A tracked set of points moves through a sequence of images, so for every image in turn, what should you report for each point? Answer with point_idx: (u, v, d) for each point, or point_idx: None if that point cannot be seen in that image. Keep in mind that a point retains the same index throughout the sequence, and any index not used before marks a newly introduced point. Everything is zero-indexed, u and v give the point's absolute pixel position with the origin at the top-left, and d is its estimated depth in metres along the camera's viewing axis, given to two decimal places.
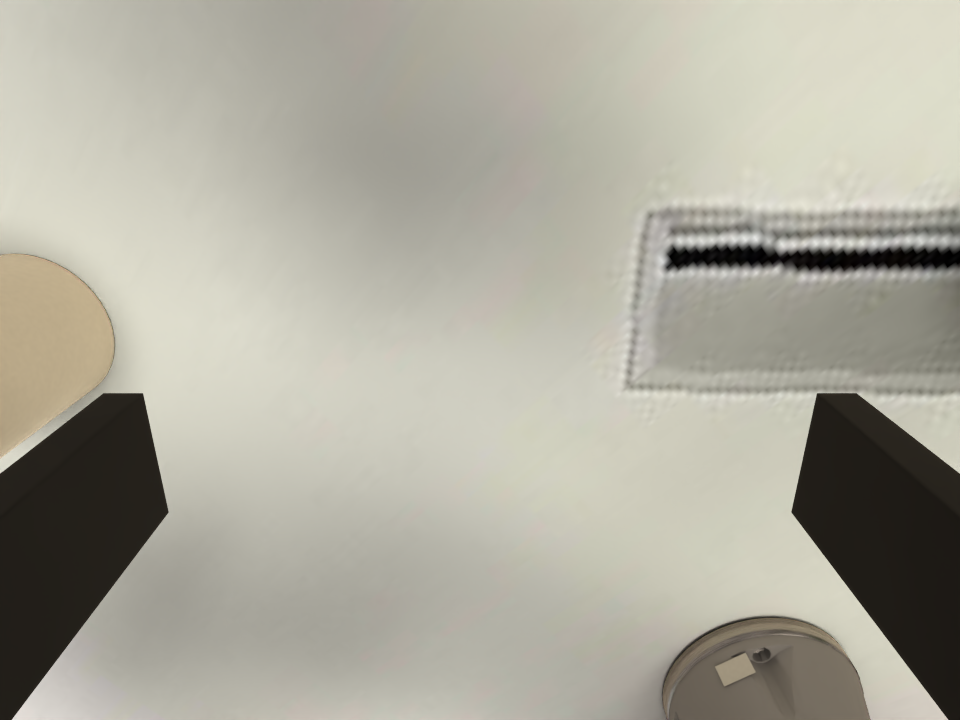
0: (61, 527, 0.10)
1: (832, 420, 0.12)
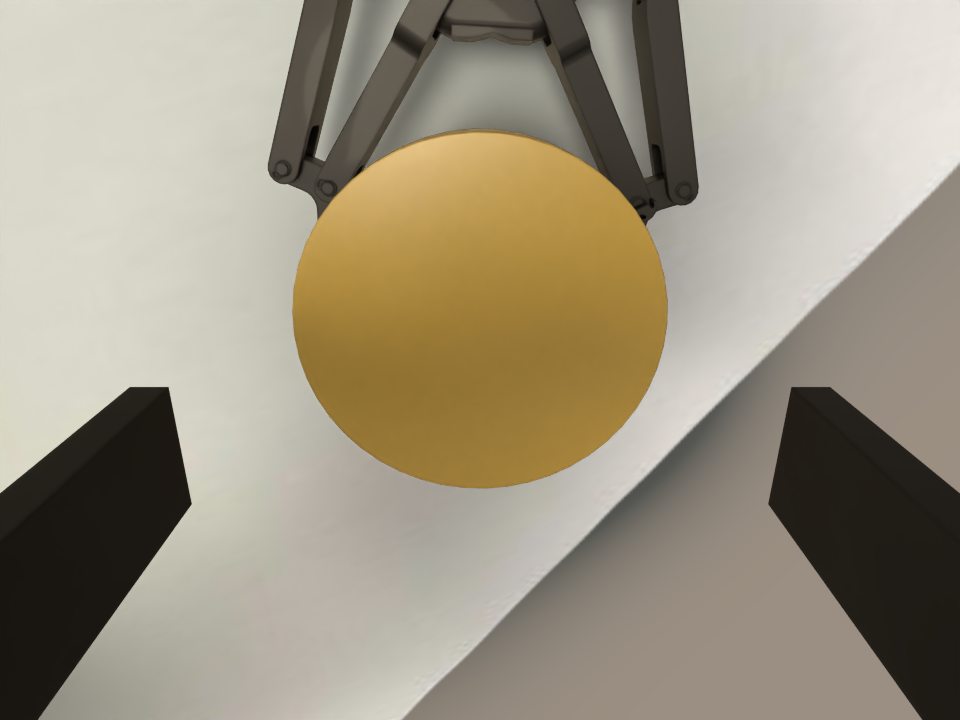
0: (95, 516, 0.10)
1: (805, 413, 0.12)
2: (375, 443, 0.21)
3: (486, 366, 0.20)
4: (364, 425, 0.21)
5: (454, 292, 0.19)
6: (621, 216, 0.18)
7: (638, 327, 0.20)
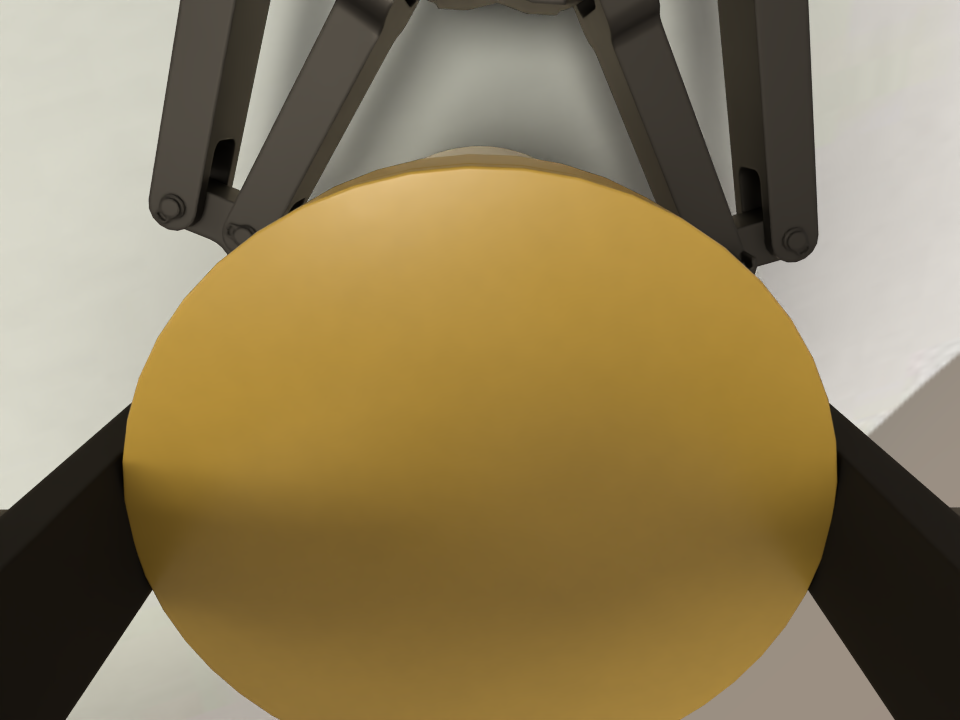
0: None
1: None
2: (294, 708, 0.12)
3: (492, 590, 0.11)
4: (273, 681, 0.12)
5: (431, 468, 0.10)
6: (763, 333, 0.09)
7: (778, 527, 0.10)
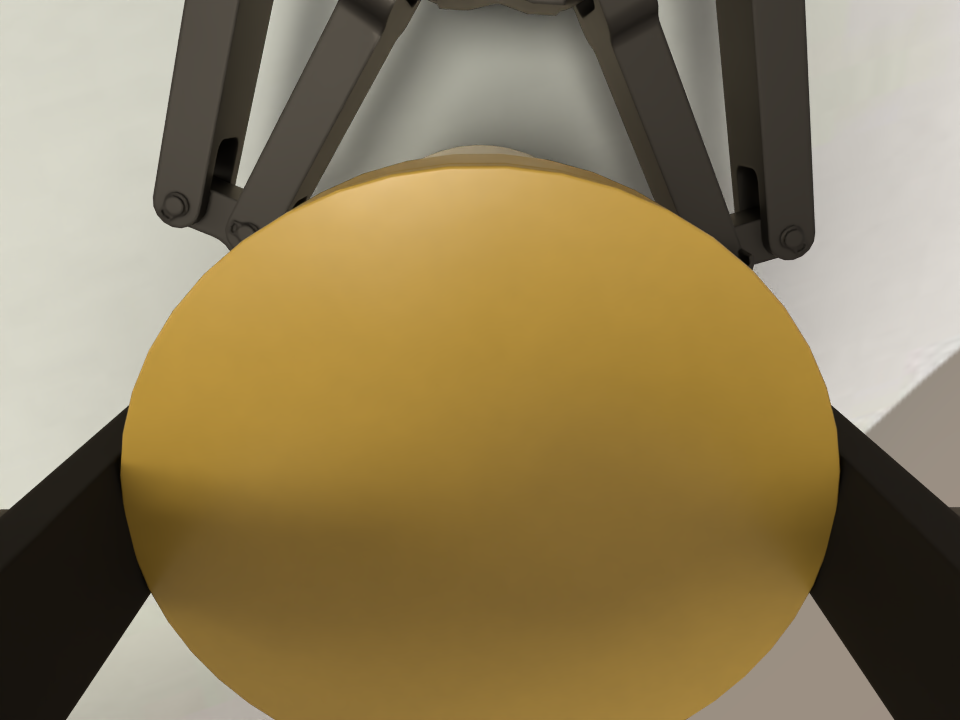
0: None
1: None
2: (733, 659, 0.11)
3: (553, 511, 0.10)
4: (696, 677, 0.12)
5: (419, 579, 0.11)
6: (193, 335, 0.09)
7: (413, 239, 0.09)
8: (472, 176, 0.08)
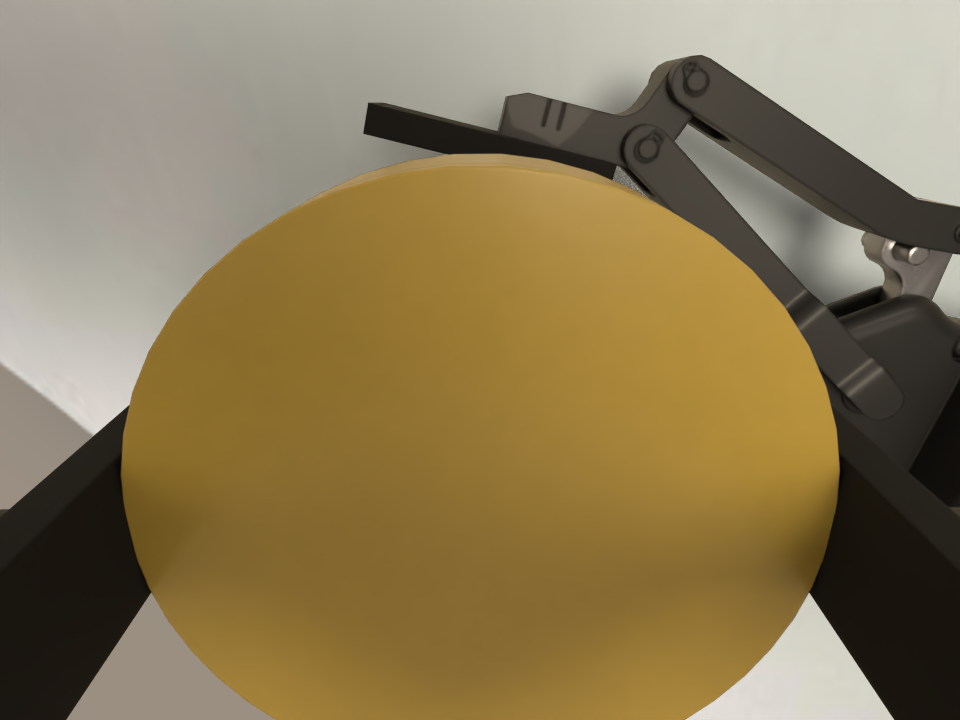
0: None
1: None
2: (733, 659, 0.11)
3: (553, 511, 0.10)
4: (695, 676, 0.12)
5: (419, 578, 0.11)
6: (194, 334, 0.09)
7: (413, 239, 0.09)
8: (472, 176, 0.08)
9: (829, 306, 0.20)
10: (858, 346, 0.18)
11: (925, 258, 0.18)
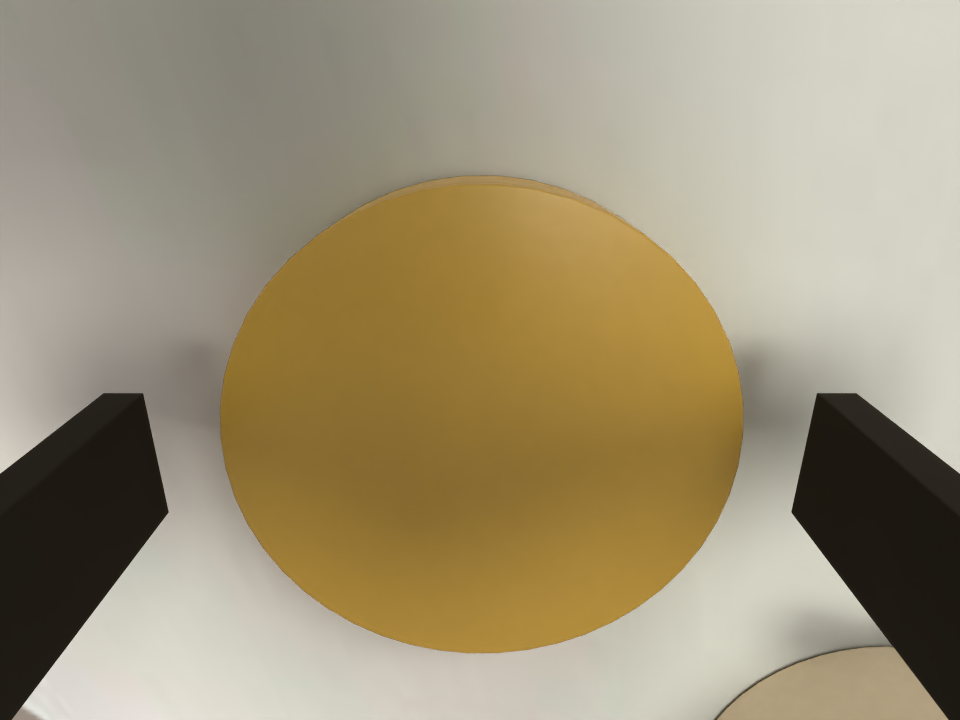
0: (61, 527, 0.10)
1: (832, 420, 0.12)
2: (672, 555, 0.15)
3: (535, 435, 0.14)
4: (645, 569, 0.15)
5: (436, 489, 0.15)
6: (279, 302, 0.13)
7: (435, 234, 0.13)
8: (476, 191, 0.12)
9: None
10: None
11: None
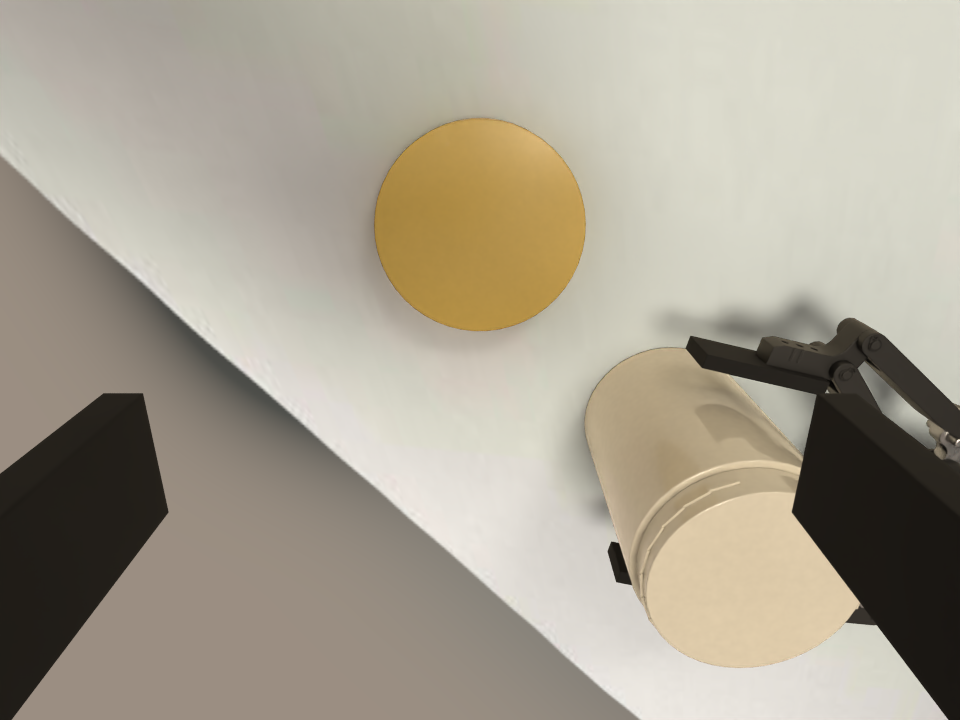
0: (61, 527, 0.10)
1: (832, 420, 0.12)
2: (560, 280, 0.36)
3: (501, 224, 0.35)
4: (549, 287, 0.36)
5: (461, 249, 0.35)
6: (401, 166, 0.34)
7: (462, 138, 0.33)
8: (477, 121, 0.33)
9: None
10: None
11: None
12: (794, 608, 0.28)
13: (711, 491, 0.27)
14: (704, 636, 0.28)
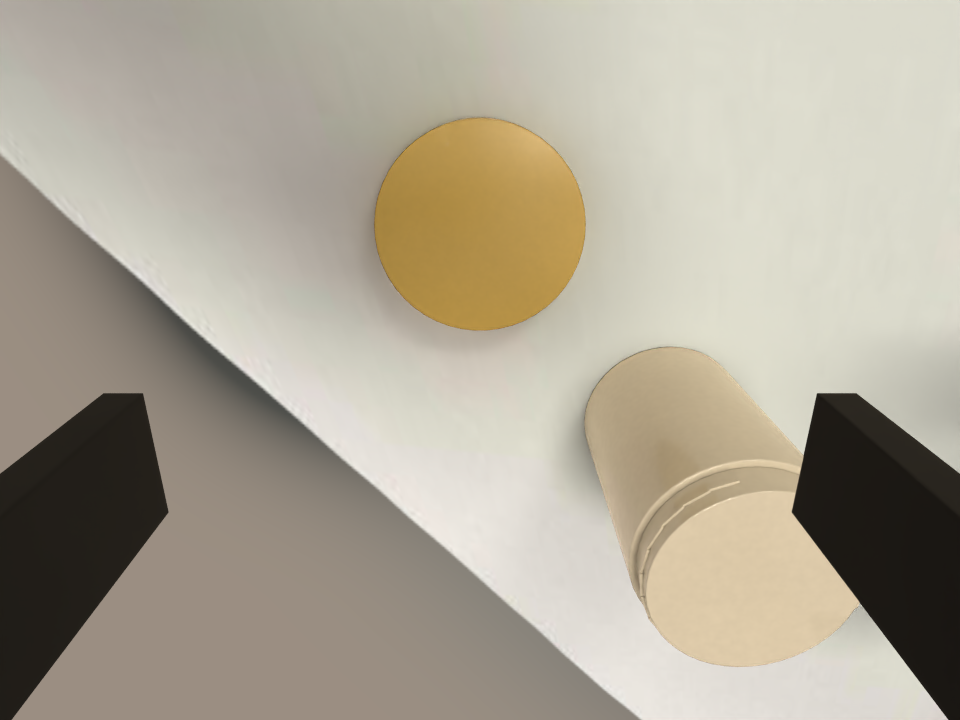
0: (61, 527, 0.10)
1: (832, 420, 0.12)
2: (560, 279, 0.36)
3: (501, 223, 0.35)
4: (549, 287, 0.36)
5: (461, 248, 0.35)
6: (401, 165, 0.34)
7: (462, 138, 0.33)
8: (477, 121, 0.33)
9: None
10: None
11: None
12: (794, 607, 0.28)
13: (711, 490, 0.27)
14: (703, 635, 0.28)
